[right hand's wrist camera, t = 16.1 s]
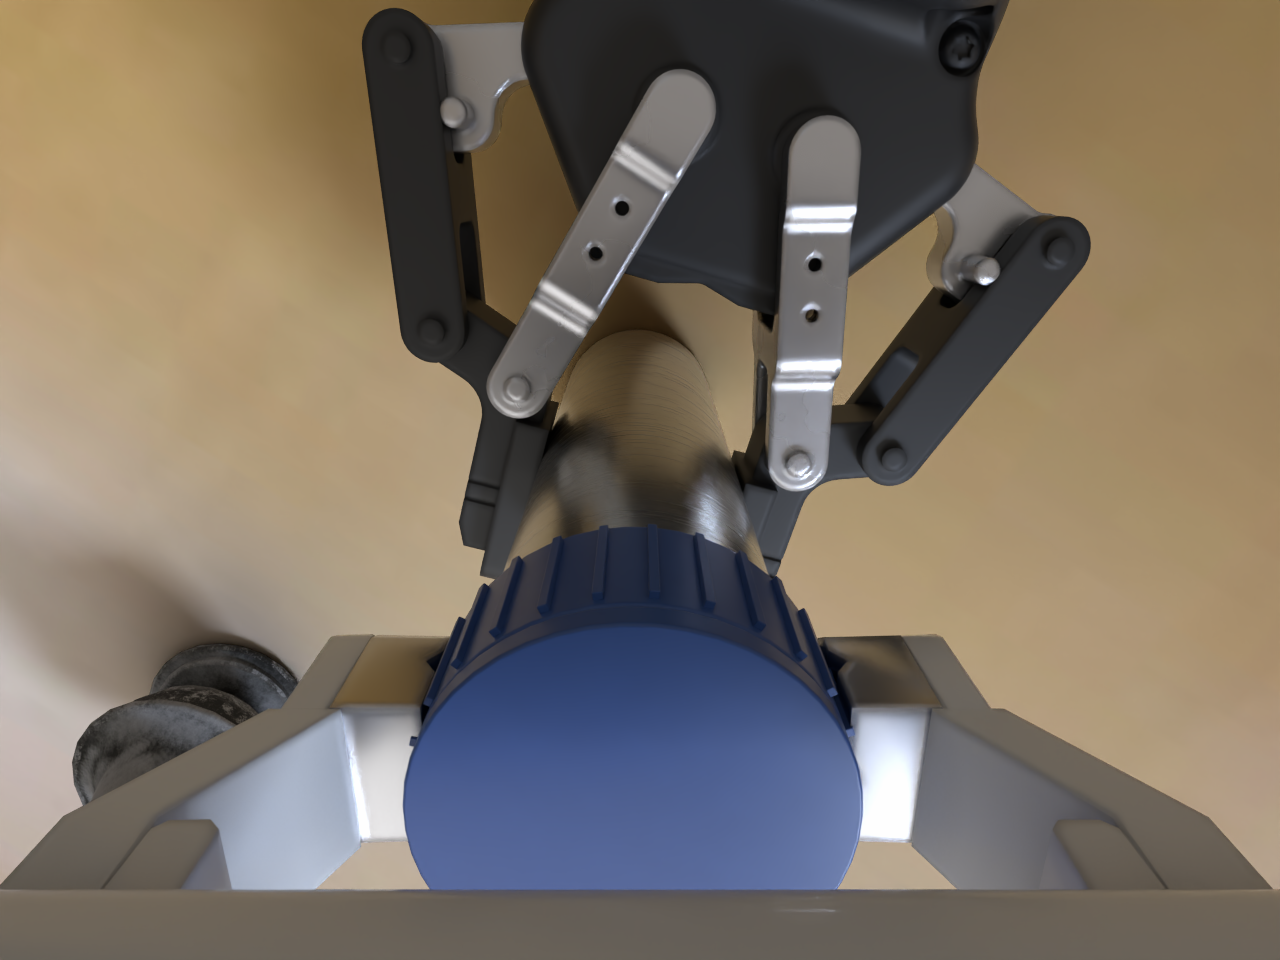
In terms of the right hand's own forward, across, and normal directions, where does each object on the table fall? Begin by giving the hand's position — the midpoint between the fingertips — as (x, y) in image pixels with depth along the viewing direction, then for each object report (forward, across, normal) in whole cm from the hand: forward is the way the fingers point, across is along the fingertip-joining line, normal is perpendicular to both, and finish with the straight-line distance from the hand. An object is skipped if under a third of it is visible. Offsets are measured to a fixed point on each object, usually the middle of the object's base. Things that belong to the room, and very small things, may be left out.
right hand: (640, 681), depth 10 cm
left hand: (+8, -1, -3) cm, 8 cm away
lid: (-2, 0, 0) cm, 2 cm away
